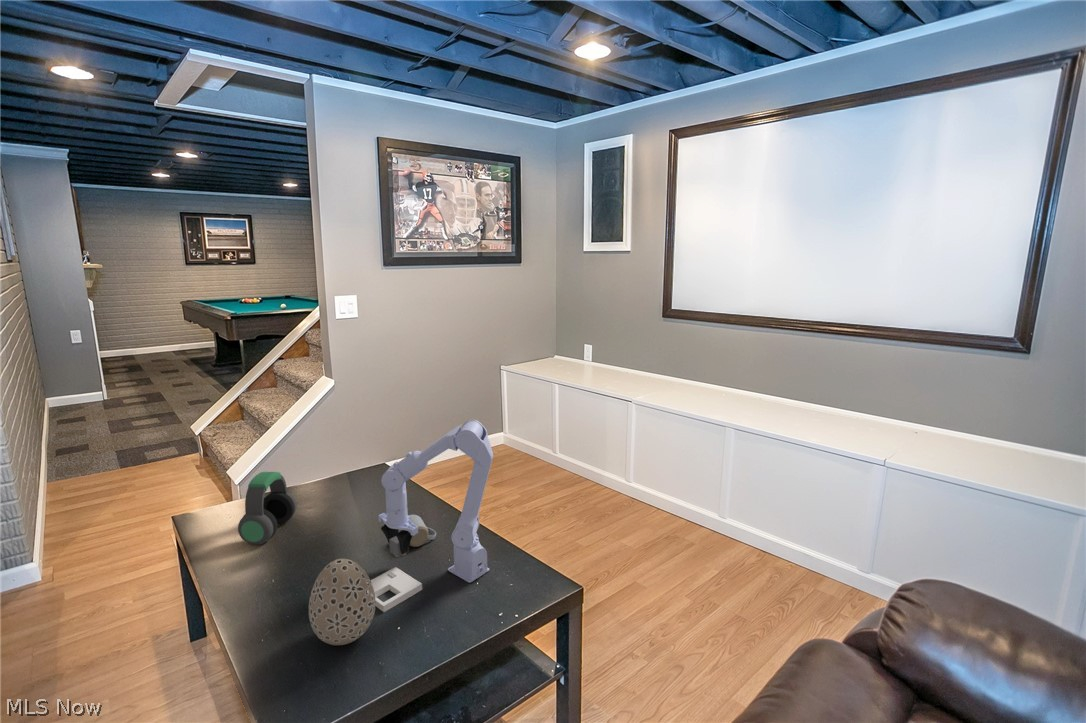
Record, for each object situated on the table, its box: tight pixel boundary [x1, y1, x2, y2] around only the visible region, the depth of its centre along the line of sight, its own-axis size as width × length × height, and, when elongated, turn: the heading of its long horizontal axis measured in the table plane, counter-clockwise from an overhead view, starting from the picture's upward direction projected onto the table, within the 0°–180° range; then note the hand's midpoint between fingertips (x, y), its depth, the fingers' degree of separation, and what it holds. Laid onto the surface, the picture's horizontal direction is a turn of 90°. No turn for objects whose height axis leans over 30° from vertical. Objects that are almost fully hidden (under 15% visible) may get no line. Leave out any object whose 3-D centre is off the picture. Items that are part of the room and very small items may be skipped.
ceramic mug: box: [399, 514, 437, 548], centre depth 166 cm, size 11×8×8 cm
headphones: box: [237, 471, 298, 546], centre depth 170 cm, size 19×11×20 cm, turn 179°
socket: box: [367, 566, 423, 613], centre depth 142 cm, size 12×12×2 cm
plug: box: [388, 536, 410, 558], centre depth 152 cm, size 4×4×5 cm
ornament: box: [308, 558, 376, 646], centre depth 123 cm, size 15×15×20 cm
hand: (399, 550), depth 152 cm, fingers closed on plug, 4 cm apart
